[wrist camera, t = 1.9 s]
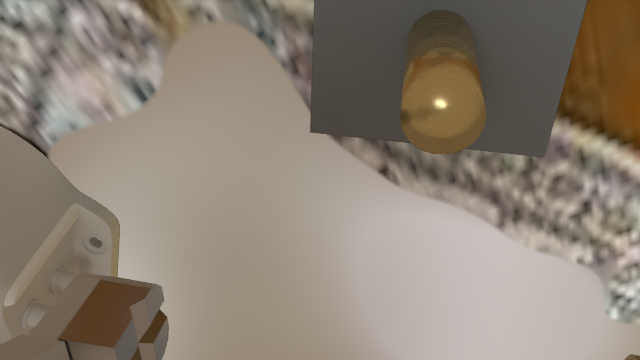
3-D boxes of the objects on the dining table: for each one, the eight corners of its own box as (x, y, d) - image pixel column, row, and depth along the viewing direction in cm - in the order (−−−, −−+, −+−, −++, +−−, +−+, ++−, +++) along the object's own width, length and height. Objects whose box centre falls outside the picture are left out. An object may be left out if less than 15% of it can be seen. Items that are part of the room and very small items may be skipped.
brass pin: (467, 74, 29) (477, 158, 22) (404, 68, 29) (395, 149, 22) (478, 12, 27) (493, 82, 20) (411, 7, 28) (404, 74, 21)
